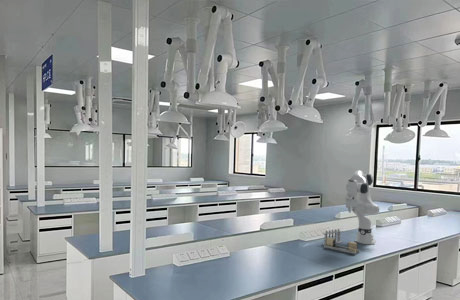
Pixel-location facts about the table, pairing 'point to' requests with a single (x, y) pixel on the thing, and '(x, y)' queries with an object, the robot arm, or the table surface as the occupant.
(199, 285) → the table surface
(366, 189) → the robot arm
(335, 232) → the test tube rack
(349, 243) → the wooden block
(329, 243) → the rail
